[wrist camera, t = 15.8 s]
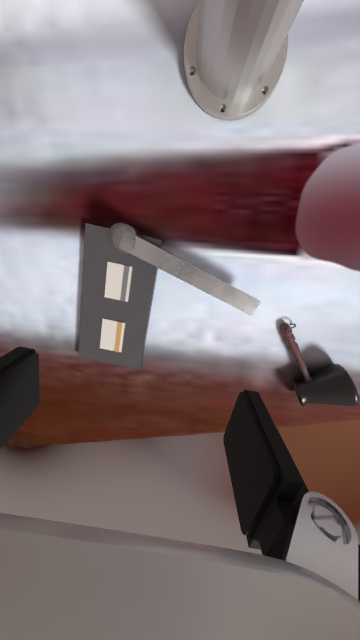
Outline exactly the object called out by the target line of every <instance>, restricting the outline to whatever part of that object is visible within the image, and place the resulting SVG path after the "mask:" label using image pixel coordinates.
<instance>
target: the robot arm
mask: <svg viewBox="0 0 360 640" xmlns="http://www.w3.org/2000/svg"><path fill="white" fill-rule="evenodd" d="M303 1H304V0H199V2H198V4H197V6H196V7H195V9H194V11H193V13H192V16H191V18H190V21H189V23H188V27H187V31H186V36H185V43H184V69H185V76H186V80H187V84H188V87H189V89H190V92H191V94H192V96H193V98H194V99H195V101H196V102H197V103H198V105H199V106H200V107H201V108H202V109H203V110H204V111H205V112H206V113H208V114H209V115H211V116H213V117H215V118H218V119H221V120H230V121H232V120H238V119H242V118H244V117H246V116H249V115H250V114H252V113H253V112H255V111H256V110H258V109H259V108H260V107H261V106H262V105H263V104H264V103H265V102H266V100H267V99H268V98H269V96H270V95H271V93H272V92H273V90H274V88H275V86H276V85H277V83H278V81H279V78H280V76H281V74H282V71H283V68H284V64H285V61H286V55H287V48H288V32H289V30H290V28H291V25H292V23H293V21H294V19H295V17H296V15H297V13H298V11H299V9H300V7H301V5H302V3H303ZM191 74H193V75H192V76H191ZM262 93H264V94H262ZM221 110H223V111H224V112H221ZM39 402H40V394H39V355H38V354H37V353H36V351H35V350H34V349H30V348H25V347H17V348H15V349H14V350H12V351H10V352H9V353H7V354H6V355H4V356H2V357H1V358H0V448H1V447H2V446H3V445H4V444H5V443H6V442H7V441H8V440H9V438H10V437H11V436H12V435H13V434H14V433H15V432H16V431H17V430H18V429H19V428H20V426H21V425H22V424H23V423H24V422H25V421H26V420H27V419H28V418H29V417H30V415H31V414H32V413H33V412H34V411H35V410H36V409H37V407H38V405H39ZM224 446H225V451H226V456H227V462H228V466H229V471H230V477H231V481H232V487H233V491H234V497H235V501H236V507H237V512H238V517H239V522H240V527H241V531H242V533H243V534H244V535H246V536H247V541H248V545H249V548H255V549H261V550H262V554H263V555H260V554H254V553H249V552H243V551H238V550H232V549H227V548H221V547H215V546H211V545H204V544H198V543H192V542H185V541H179V540H172V539H167V538H160V537H153V536H148V535H141V534H135V533H129V532H122V531H116V530H109V529H102V528H96V527H90V526H83V525H76V524H70V523H63V522H57V521H50V520H44V519H37V518H31V517H24V516H17V515H10V514H3V513H0V640H360V545H359V544H358V538H357V533H356V531H355V529H354V527H353V524H352V523H351V521H350V520H349V518H348V517H347V515H346V514H345V513H344V512H343V511H342V510H341V509H340V507H339V506H337V505H336V504H335V503H334V502H333V501H332V500H330V499H329V498H327V497H325V496H324V495H322V494H319V493H317V492H309V491H308V489H307V487H306V485H305V483H304V481H303V479H302V477H301V475H300V473H299V471H298V469H297V467H296V465H295V463H294V461H293V460H292V457H291V455H290V453H289V451H288V450H287V448H286V445H285V444H284V441H283V440H282V438H281V436H280V434H279V432H278V430H277V428H276V427H275V425H274V423H273V421H272V419H271V417H270V415H269V413H268V411H267V409H266V407H265V405H264V403H263V401H262V399H261V397H260V395H259V393H258V392H255V391H250V390H244V392H240V394H239V396H238V399H237V401H236V404H235V407H234V409H233V412H232V415H231V417H230V420H229V423H228V426H227V428H226V431H225V434H224Z"/></svg>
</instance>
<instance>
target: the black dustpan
mask: <svg viewBox="0 0 360 640" xmlns="http://www.w3.org/2000/svg"><path fill="white" fill-rule="evenodd" d="M290 325H295V326H294V327H296V324H290ZM294 327H291V328H290V326H289V325H288V324H287V323H284V324H282V325H281V326H280V328H281V332H282V335H284V339H285V341H286V342H287V343H288V348H289V350H290V351H291V352H292V354H293V355H294V357H295V358H296V360H297V363H298V366H299V369H300V370H301V371H302V373H303V375H304V377H305V378H304V379H303V380H301V381H297V380H292V381H293V385H294V388H295V391H296V394H297V397H298V399H299V401H300V403H301V405H302V406H304V405H306V404H307V403H318V404H330V405H341V406H356V405H358V403H359V396H358V393H357V389H356V387H355V385H354V382H353V381H352V379H351V377H350V375H349V374H348V373H347V371H346V370H345V369H344V368H343V367H342V366H341V365H339V364H333V365H331V366H329V367H327V368H325V369H323V370H321V371H319V372H317V373H315V374H313V375H311V376H310V375H309V373H308V371H307V366H306V364H305V362H304V361H303V359H302V357H301V354H300V350H299V347H298V344H297V343H296V342H295V337H294V335H293V334H292V330H291V329H292V328H294Z"/></svg>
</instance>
